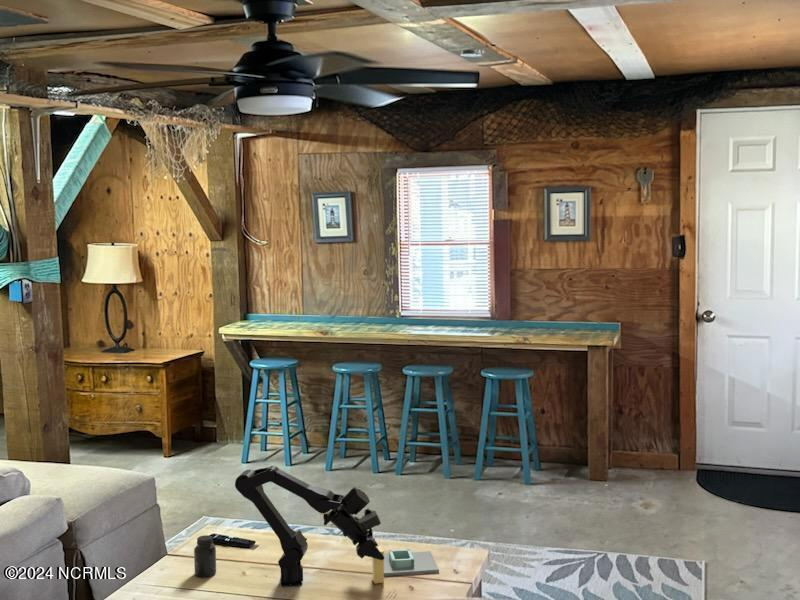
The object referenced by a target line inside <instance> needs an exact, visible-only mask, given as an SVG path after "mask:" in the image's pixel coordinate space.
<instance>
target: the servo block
mask: <svg viewBox="0 0 800 600" xmlns="http://www.w3.org/2000/svg"><path fill="white" fill-rule="evenodd" d="M376 547H377V548H378V550H379V551H380V552H381V553H382V555H383V556H384V554H385V552H384V548H383V545H379V546H376ZM371 559H372V561H371V563H372V564H371V565H372V568H371V569H372V580H373V583H374V584H384V583H385V576H384V559H383V560H379V559H376V558H372V557H371Z"/></svg>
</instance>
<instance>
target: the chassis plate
mask: <svg viewBox="0 0 800 600" xmlns="http://www.w3.org/2000/svg"><path fill="white" fill-rule="evenodd" d="M425 573H426V574H435V573H436V574H439V573H440V569H439V567H438V564H437V562H436V560H435V558H434V556H433V554H432V552H431V550H427V551H413V552H412V551H411V548H407V549H406V548H405V549H392V550H391V549H389V550H388V553H384V577H391V576H392V577H393V576H406V575H407V576H408V575H424V574H425Z"/></svg>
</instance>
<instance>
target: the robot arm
mask: <svg viewBox="0 0 800 600" xmlns="http://www.w3.org/2000/svg"><path fill="white" fill-rule="evenodd" d="M270 482H271V483H273V484H275V485H276V486H278V487H280V488H282V489H284V490H286V491H288V492H290V493H292V494H293V495H295V496H297V497H299V498H301V499H303V500H304V501H305V502H306V503H307V504H308V505H309V507H310V508H313V509H314V511H316V512H317V513H319V514H323V525H324V526H327V525H328V524H329V523H330V522H331V524H333V525H334V526H335V527H336V528H337V529H338V530H339V531H340V532H341V533H342V535H343V536H344V537H345V538H346V537H347V538H348V539H349V540H351V542H352V545H354V546H355V552H356V555H357V556H358V557H359V558H360V559H363V558H365V557H368V558H371V559H372V558H376V559H379V560H383V559H384V556H383V555H382V553H381V552H380V551H379V550H378V548H377V547H376V546H380V545H379V544H378V543H377V541H376V539H375V538H374V535H373V528H374V527H379V525H381V524H382V522H381V519H380V517H379V515H378V513H377V511H376V510H374V509H370V508H369V507H368V508H366V506H368V505H369V504H370V503H371V501H370V499H369V497H368V495H367V494H366V493H365V492H364V491H362V490H361V489H359V488H357V487H356V486H352V487H351V489H350V490H349V491H348V492H347V493H346V494H339V493H334V492H333V491H332V490H330V489H327V488H324V487H322V486H321V487H320V486H316V485H314V486H313V485H310V484H308V483H307V482H305V481H302V480H301V479H299V478H297V477H295V476H293V475H291V474H289V473H287V472H286V471H284V470H282V469H280V468H279V467H278V466H275V465H270V466H269V467H268V466H267V467H263V468H262V467H261V468H258V469H245V470H244V471H243V472H242V473H240V474H239V476H238V477H237V478H236V479H235V482H234V488H235V489H236V491H238V493H239V494H241V495H242V497H243V498H245V499H247V500H248V501H251V502H252V503H253V505H254V506H255V508H256V509H257V510H258V512H259V513H260V515H261V516H262V517H263V519H264V521H266V523H267V524H268V526H269V527H270V528H271V530H272V531H273V532H274V534H275V535H276V536H277V538H278V539H279V543H280V546H281V550H282V552H283V553H282V555H281V557H280V558H279V560H278V561H277V563H278V566H279V568H280V587H293V586H295V587H296V586H302V584H303V583H302V582H303V581H304V567H303V565H302V564H301V563H302V562H301V560H302V559H303V558H304V556H305V554H306V553H307V551H308V545H309V544H308V542H307V541H308V538H307V537H305V536H304V535H303V533H302V530H300V529H298V530H297V531H295V530H294V529H292V528H291V527H290V526H289V524H288V523H287V521H286V520H285V519H284V518H283V516H282V515H281V513H280V512H279V510H278V509H277V508H276V507H275V504H273V502H272V501H271V499H270V498H269V497H268V495H267V494H266V493H265V491H264V487H263V485H265V484H267V483H270ZM364 508H366V509H364ZM363 510H364V513H363V514H364V515H362V517H360V518H359V517H358V516H355V515H358V514H359V513H360V512H361V511H363ZM353 515H354V516H353Z"/></svg>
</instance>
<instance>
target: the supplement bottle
mask: <svg viewBox="0 0 800 600" xmlns="http://www.w3.org/2000/svg"><path fill="white" fill-rule="evenodd" d="M213 543H214V541H213V536H211V535H208V534H207V535H200V536H198V537H196V546H195V547H194V549H193V550H194V551H193V552H194V554H193V556H194V557H193V559H194V560H193V561H194V562H193V563H194V565H193V567H194V575H195V576H196V577H197V578H202V579H205V578H206V577H207V578H211V577H213V576H215V575H216V574H217V548H216V546H215V545H214V544H213ZM207 578H206V579H207Z"/></svg>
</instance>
